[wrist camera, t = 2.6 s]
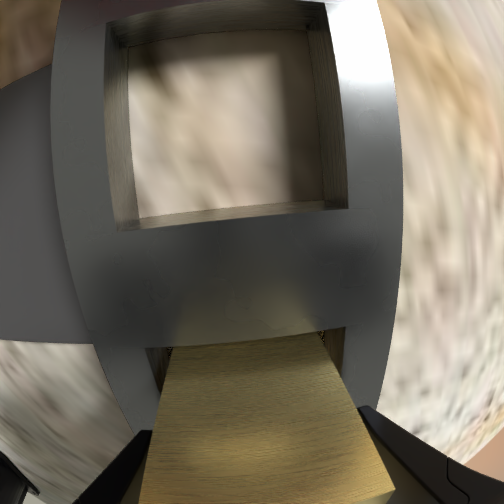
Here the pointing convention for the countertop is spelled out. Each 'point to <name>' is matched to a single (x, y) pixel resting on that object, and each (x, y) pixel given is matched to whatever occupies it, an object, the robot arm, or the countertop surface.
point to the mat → (33, 223)
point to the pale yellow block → (260, 429)
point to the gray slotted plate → (236, 218)
